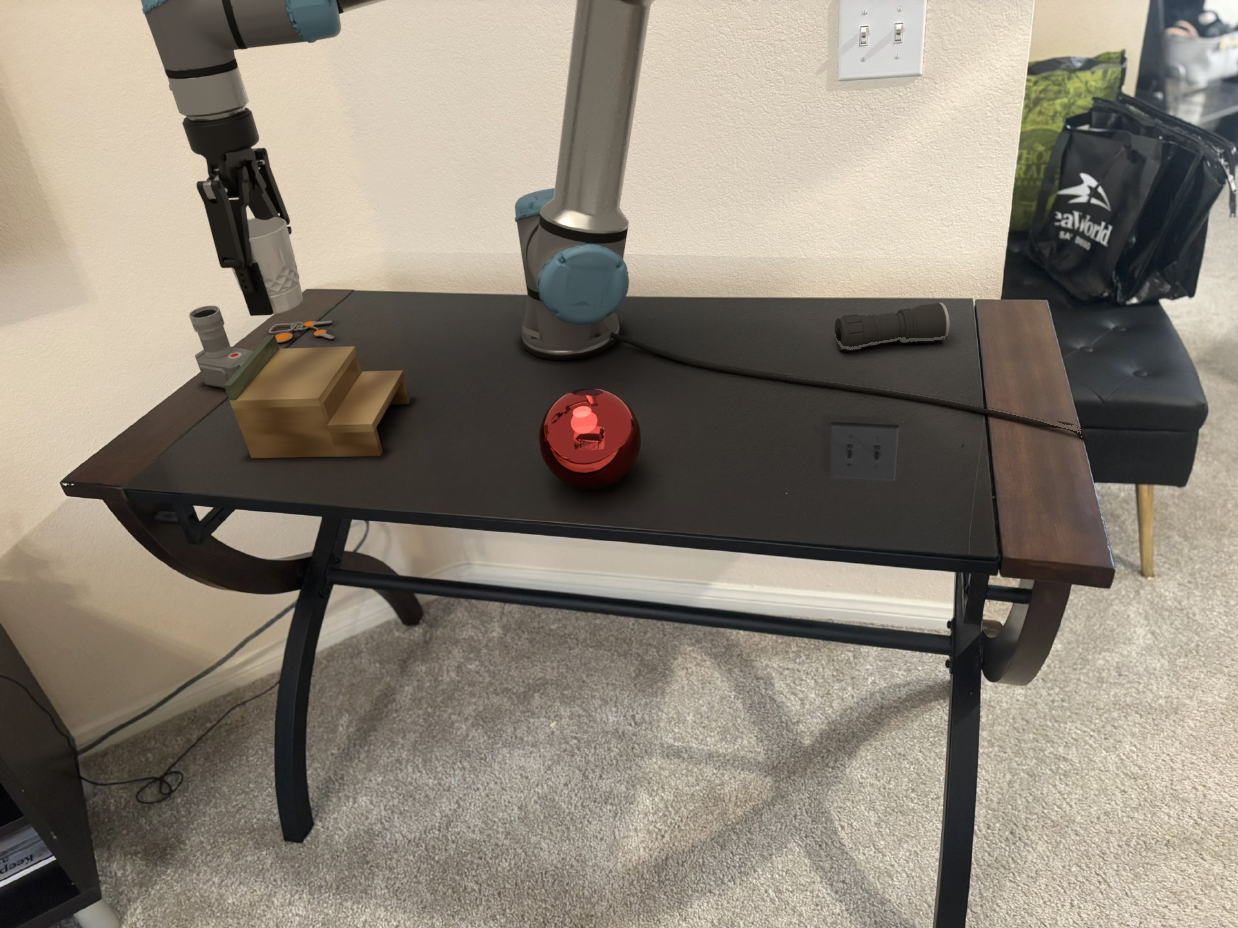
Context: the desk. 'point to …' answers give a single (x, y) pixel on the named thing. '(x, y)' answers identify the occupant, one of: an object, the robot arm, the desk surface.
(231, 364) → the camera
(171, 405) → the desk surface
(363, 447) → the shelf stand
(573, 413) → the ball
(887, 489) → the desk surface
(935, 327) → the flashlight
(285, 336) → the key chain
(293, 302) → the white cup
